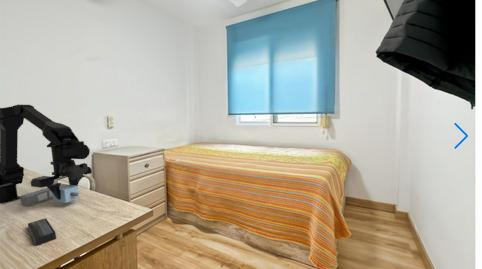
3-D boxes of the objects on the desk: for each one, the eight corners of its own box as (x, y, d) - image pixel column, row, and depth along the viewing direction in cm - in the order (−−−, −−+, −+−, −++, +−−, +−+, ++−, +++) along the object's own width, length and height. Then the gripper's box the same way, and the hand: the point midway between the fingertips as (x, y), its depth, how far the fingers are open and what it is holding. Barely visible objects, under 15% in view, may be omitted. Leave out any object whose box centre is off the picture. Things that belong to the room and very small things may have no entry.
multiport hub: (36, 247, 59) (35, 240, 59) (28, 230, 68) (27, 223, 68) (56, 240, 62) (55, 232, 62) (46, 224, 72) (46, 217, 71)
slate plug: (50, 200, 84) (48, 188, 84) (63, 195, 89) (62, 183, 88) (71, 203, 81) (70, 190, 80) (84, 198, 86) (83, 186, 85)
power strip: (21, 205, 86) (19, 193, 85) (62, 191, 100) (60, 181, 100) (28, 206, 85) (27, 194, 84) (68, 192, 99) (67, 182, 98)
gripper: (49, 165, 72) (54, 209, 74) (99, 154, 90) (103, 190, 91) (27, 163, 75) (32, 205, 77) (80, 153, 93) (84, 187, 95)
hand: (66, 196), depth 85 cm, fingers closed on slate plug, 5 cm apart
